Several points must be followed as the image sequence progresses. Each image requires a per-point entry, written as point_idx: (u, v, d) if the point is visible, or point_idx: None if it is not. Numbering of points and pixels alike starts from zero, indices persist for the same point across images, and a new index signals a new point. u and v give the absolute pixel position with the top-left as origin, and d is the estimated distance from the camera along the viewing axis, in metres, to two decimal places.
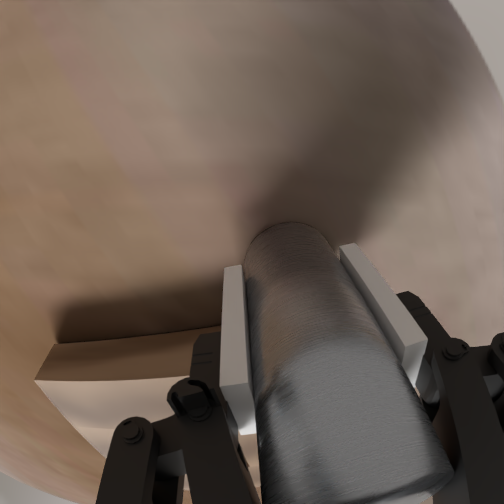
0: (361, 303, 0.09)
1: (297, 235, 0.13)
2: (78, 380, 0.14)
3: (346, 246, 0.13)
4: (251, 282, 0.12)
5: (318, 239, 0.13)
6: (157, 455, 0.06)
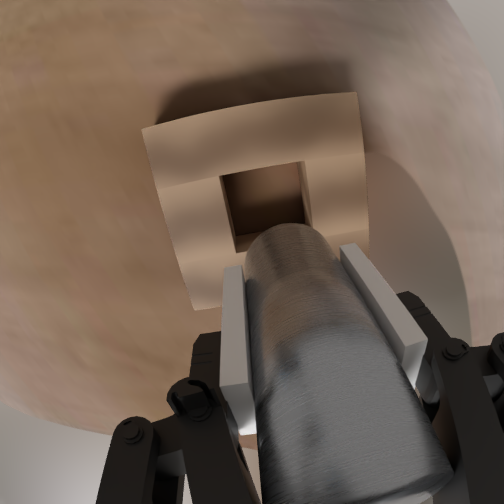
0: (361, 304, 0.09)
1: (297, 236, 0.13)
2: None
3: (346, 246, 0.13)
4: (251, 283, 0.12)
5: (318, 240, 0.13)
6: (157, 455, 0.06)
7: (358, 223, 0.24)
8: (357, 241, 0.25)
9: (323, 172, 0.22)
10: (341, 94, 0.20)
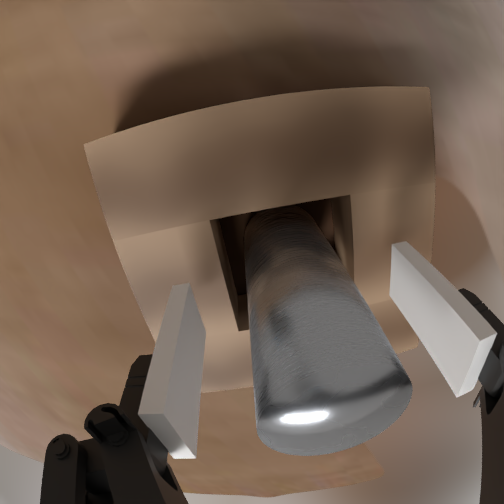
0: (335, 259, 0.12)
1: (287, 212, 0.16)
2: (161, 119, 0.12)
3: (398, 244, 0.12)
4: (249, 249, 0.15)
5: (305, 216, 0.16)
6: (82, 472, 0.06)
7: None
8: None
9: (377, 212, 0.14)
10: (408, 89, 0.11)
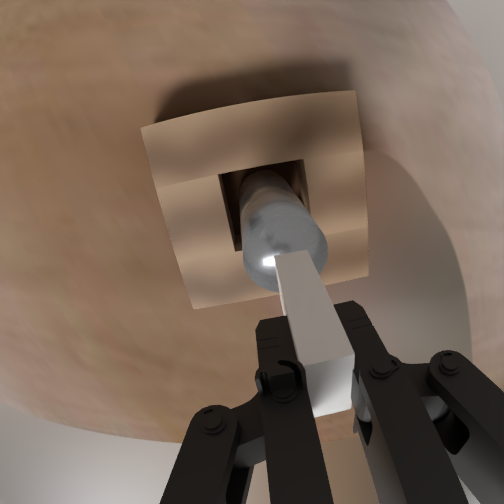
0: (291, 191, 0.20)
1: (266, 173, 0.24)
2: (190, 114, 0.20)
3: (296, 253, 0.13)
4: (241, 194, 0.23)
5: (278, 175, 0.24)
6: (241, 443, 0.06)
7: (357, 221, 0.24)
8: (357, 240, 0.25)
9: (322, 170, 0.22)
10: (340, 92, 0.20)
